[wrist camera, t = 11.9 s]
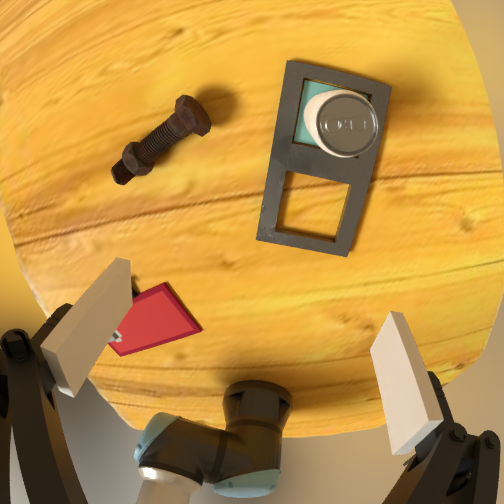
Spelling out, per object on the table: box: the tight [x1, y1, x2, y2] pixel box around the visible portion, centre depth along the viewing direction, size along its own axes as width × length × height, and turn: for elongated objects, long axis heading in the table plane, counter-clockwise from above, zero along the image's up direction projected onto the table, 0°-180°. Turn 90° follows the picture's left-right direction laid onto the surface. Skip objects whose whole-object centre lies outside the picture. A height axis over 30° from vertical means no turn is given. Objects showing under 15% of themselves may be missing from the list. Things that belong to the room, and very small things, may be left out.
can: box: [304, 90, 379, 157], centre depth 29 cm, size 6×6×12 cm
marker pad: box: [294, 80, 368, 146], centre depth 34 cm, size 8×8×1 cm
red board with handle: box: [108, 282, 202, 357], centre depth 54 cm, size 30×3×15 cm
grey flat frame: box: [256, 60, 392, 257], centre depth 36 cm, size 24×13×1 cm, turn 172°
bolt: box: [111, 95, 211, 185], centre depth 36 cm, size 6×5×15 cm
